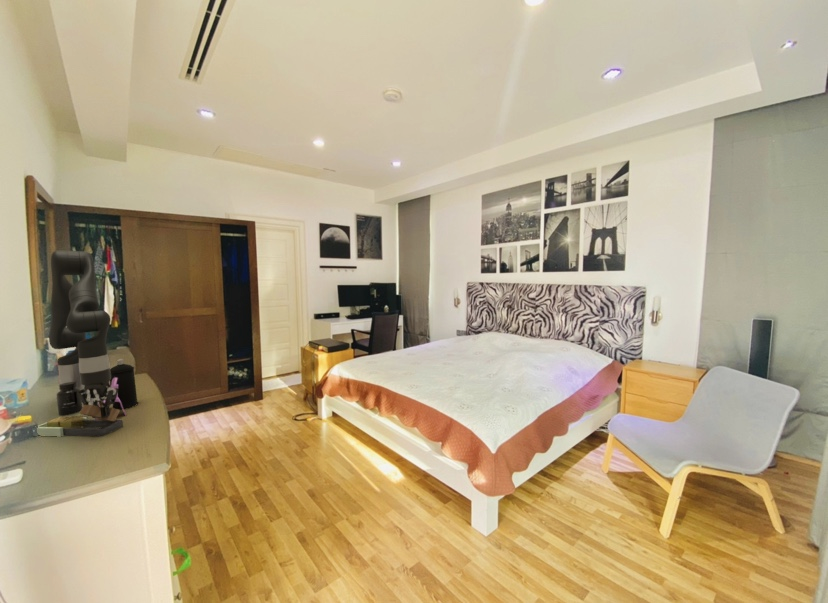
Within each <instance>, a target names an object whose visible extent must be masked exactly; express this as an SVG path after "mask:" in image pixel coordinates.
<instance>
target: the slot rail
mask: <svg viewBox="0 0 828 603" xmlns="http://www.w3.org/2000/svg"><path fill="white" fill-rule="evenodd" d="M82 424H83V427H81V428H78V427H66V428H63V435H64V436H63V437H65V436H66V437H104V436H106V435H108V434H111V433H114V432H115V431H117V430H119V429H121V428H123V427H124V424H123V420H122V419H116V420H115V421H101V420H96V419H88V420H86V419H85V420H83V421H82Z"/></svg>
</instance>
